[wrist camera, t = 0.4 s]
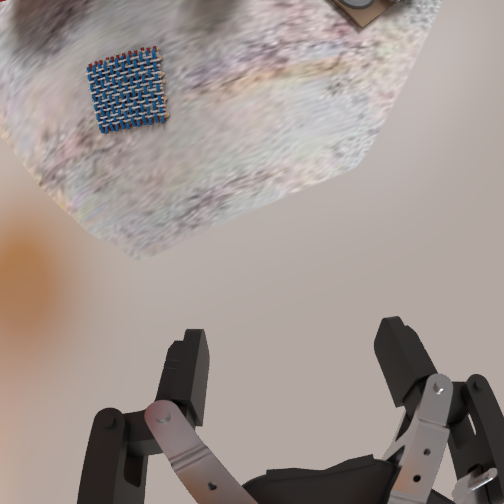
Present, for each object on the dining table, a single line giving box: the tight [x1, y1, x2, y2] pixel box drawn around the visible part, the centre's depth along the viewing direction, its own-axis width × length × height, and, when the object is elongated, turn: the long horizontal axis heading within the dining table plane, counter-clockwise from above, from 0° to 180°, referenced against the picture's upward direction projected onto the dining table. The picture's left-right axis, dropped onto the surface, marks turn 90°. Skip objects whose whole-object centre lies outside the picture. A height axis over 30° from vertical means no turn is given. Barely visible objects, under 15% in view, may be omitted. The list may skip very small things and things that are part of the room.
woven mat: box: [85, 46, 170, 134], centre depth 27 cm, size 10×11×2 cm
